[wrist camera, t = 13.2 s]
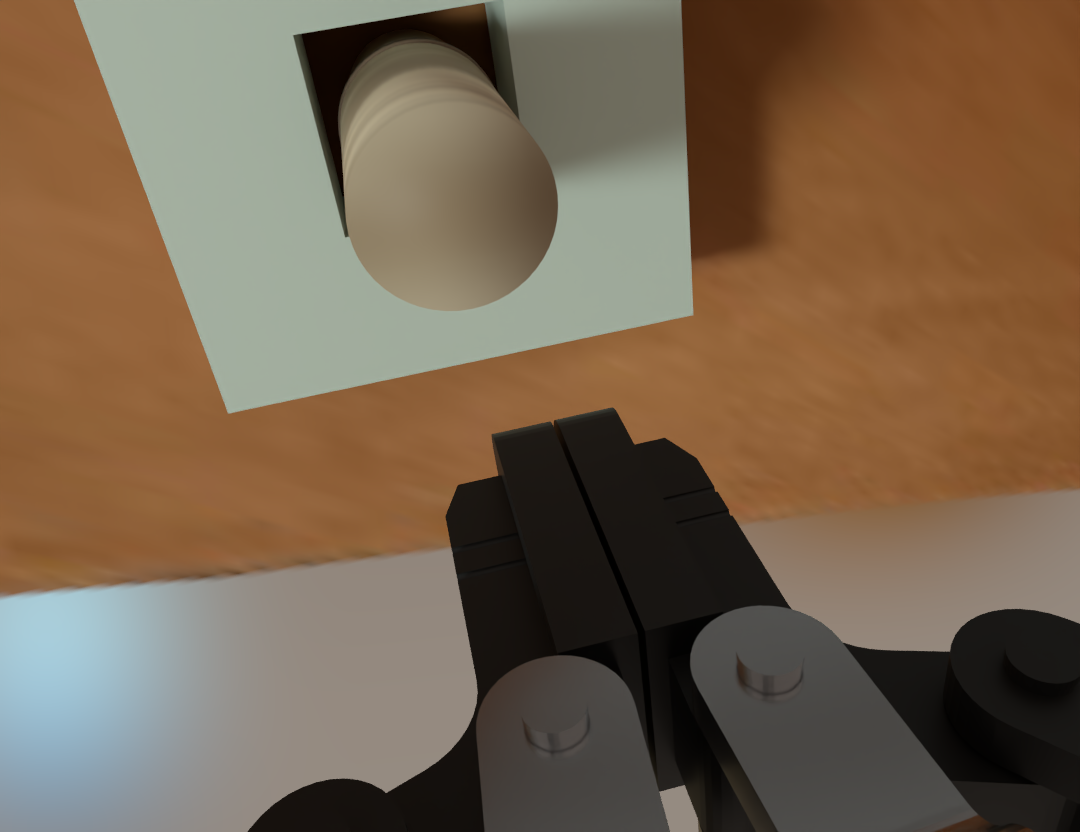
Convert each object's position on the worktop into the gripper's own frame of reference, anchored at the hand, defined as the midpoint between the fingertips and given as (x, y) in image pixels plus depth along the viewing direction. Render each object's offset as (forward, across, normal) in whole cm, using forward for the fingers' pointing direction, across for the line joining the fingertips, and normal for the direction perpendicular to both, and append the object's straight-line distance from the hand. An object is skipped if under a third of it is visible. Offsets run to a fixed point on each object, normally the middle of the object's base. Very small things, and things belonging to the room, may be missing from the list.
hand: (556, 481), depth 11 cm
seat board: (+22, 0, 0) cm, 22 cm away
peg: (+22, 0, 0) cm, 22 cm away
